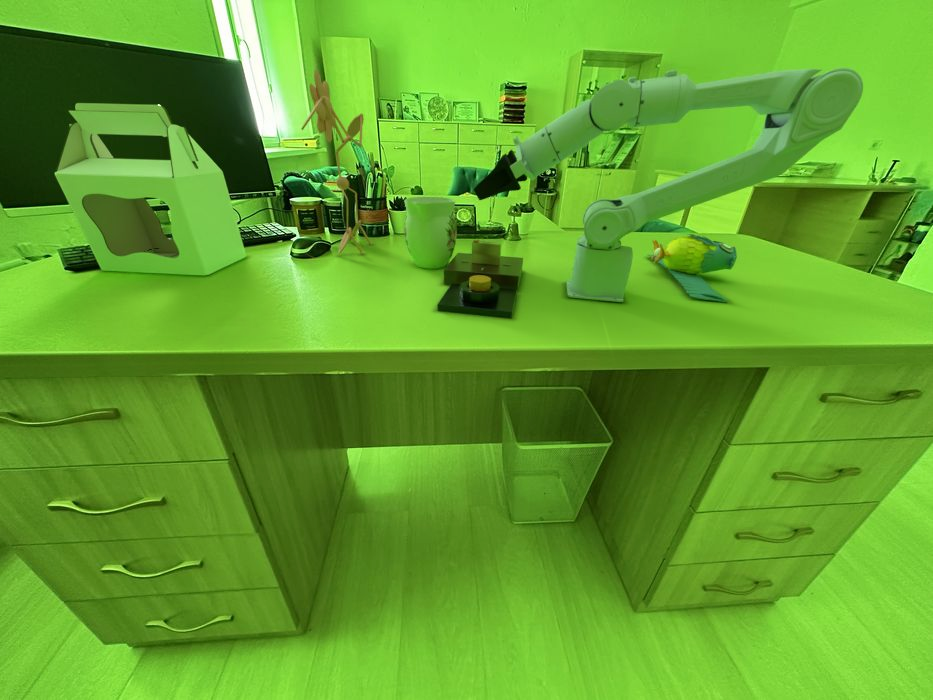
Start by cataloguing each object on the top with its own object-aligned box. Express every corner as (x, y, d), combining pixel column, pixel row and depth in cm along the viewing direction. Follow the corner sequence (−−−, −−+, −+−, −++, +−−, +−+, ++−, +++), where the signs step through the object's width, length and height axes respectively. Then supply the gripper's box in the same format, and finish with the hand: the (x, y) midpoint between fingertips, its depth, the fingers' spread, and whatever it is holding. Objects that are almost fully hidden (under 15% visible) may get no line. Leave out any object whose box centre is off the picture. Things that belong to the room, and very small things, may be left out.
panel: (521, 271, 78) (523, 256, 76) (517, 291, 68) (519, 275, 66) (457, 266, 80) (457, 251, 79) (443, 284, 70) (443, 268, 68)
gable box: (99, 271, 72) (15, 99, 58) (154, 252, 84) (94, 105, 70) (208, 276, 71) (148, 102, 57) (248, 257, 82) (206, 108, 68)
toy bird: (641, 218, 86) (709, 223, 85) (631, 255, 90) (695, 260, 89) (686, 250, 62) (782, 257, 61) (669, 297, 66) (759, 305, 65)
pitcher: (461, 253, 89) (462, 192, 82) (451, 277, 74) (451, 204, 67) (416, 250, 90) (414, 190, 83) (397, 274, 75) (392, 202, 68)
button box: (516, 295, 66) (518, 279, 64) (511, 318, 58) (513, 300, 56) (451, 289, 68) (451, 273, 66) (437, 311, 59) (437, 293, 58)
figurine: (381, 237, 101) (366, 80, 84) (358, 265, 79) (331, 60, 62) (325, 235, 101) (299, 79, 84) (286, 263, 79) (239, 57, 61)
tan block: (500, 263, 73) (501, 241, 70) (499, 265, 71) (500, 243, 69) (472, 260, 74) (473, 239, 71) (471, 263, 72) (472, 241, 70)
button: (491, 285, 63) (492, 276, 62) (488, 293, 60) (489, 283, 59) (471, 284, 63) (471, 274, 62) (467, 291, 60) (467, 281, 59)
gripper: (544, 118, 63) (477, 164, 69) (539, 119, 51) (459, 174, 57) (561, 158, 65) (496, 198, 71) (560, 168, 53) (482, 215, 60)
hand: (481, 190), depth 64 cm, fingers open, 7 cm apart
